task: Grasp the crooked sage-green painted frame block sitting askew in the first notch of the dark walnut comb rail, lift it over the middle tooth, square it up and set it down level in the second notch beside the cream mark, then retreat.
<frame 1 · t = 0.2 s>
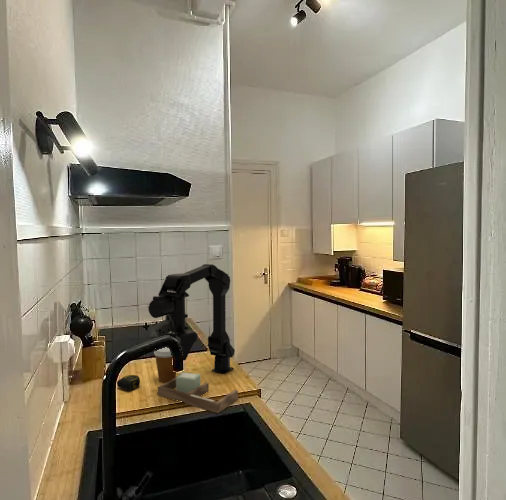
hand: (178, 356, 128), 13 cm above the table, fingers open, 9 cm apart
frame block: (188, 391, 132), on the table
disposable coffee cup: (167, 379, 142), on the table
walnut comb rail: (198, 396, 127), on the table
tape measure: (129, 389, 134), on the table
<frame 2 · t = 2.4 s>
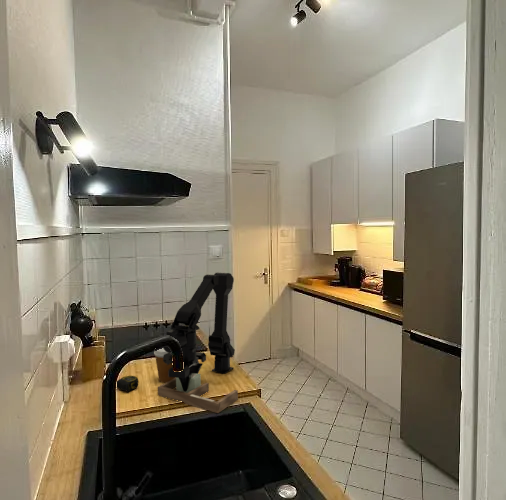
hand: (188, 387, 132), 1 cm above the table, fingers closed on frame block, 5 cm apart
frame block: (188, 390, 132), on the table, touching gripper
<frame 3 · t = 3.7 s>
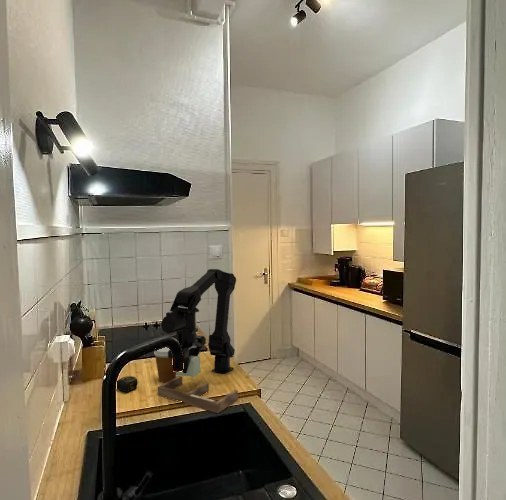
hand: (188, 370, 131), 7 cm above the table, fingers closed on frame block, 5 cm apart
frame block: (188, 373, 131), point 6 cm above the table, touching gripper
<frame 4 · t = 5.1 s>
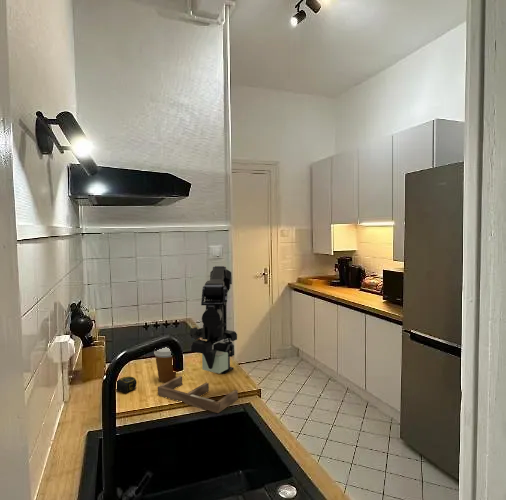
hand: (215, 366, 125), 11 cm above the table, fingers closed on frame block, 5 cm apart
frame block: (215, 369, 125), point 10 cm above the table, touching gripper
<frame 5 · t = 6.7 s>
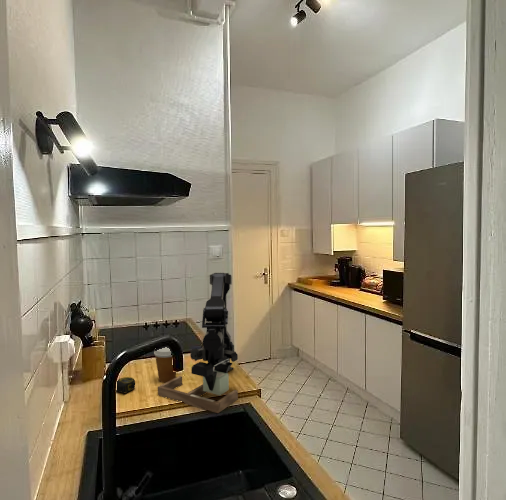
hand: (215, 387, 126), 4 cm above the table, fingers closed on frame block, 5 cm apart
frame block: (215, 390, 126), point 3 cm above the table, touching gripper
when the fingers open (2 cm above the table, at t = 7.9 s): frame block drops 1 cm, on the table.
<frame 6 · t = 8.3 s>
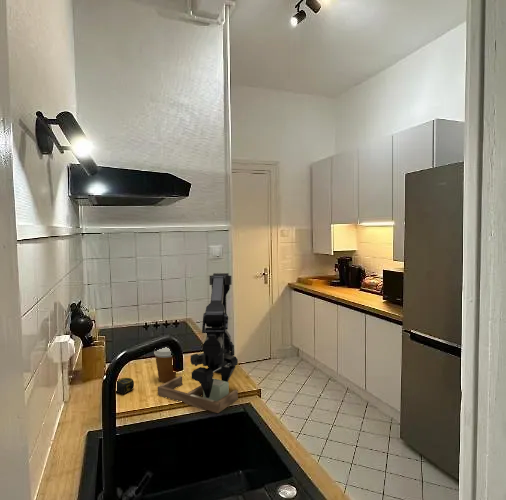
hand: (215, 392, 126), 2 cm above the table, fingers open, 9 cm apart
frame block: (216, 398, 126), on the table
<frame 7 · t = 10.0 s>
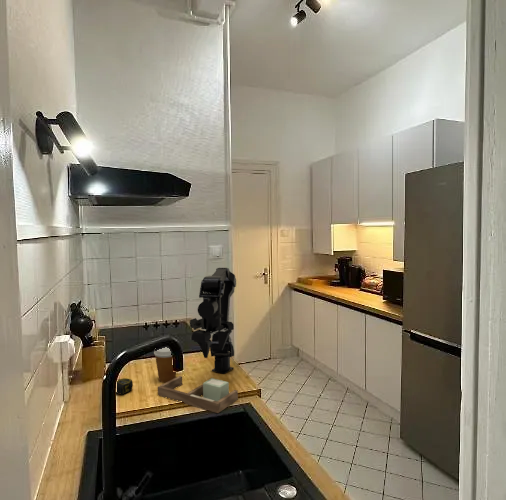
hand: (213, 354, 135), 12 cm above the table, fingers open, 9 cm apart
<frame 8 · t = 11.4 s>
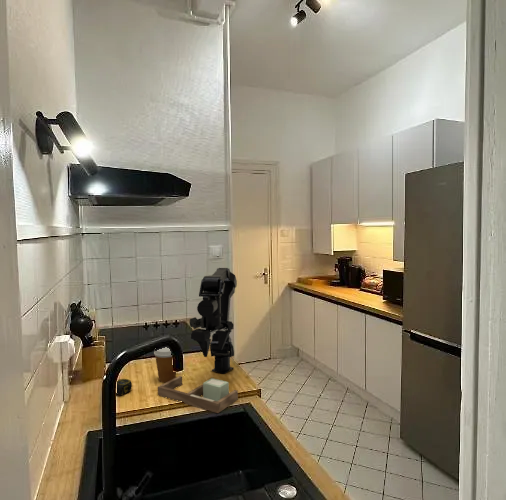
hand: (213, 353, 135), 12 cm above the table, fingers open, 9 cm apart
at the end: frame block inside the target area on the walnut comb rail (0.8 cm from its centre), point 0.0 cm above the walnut comb rail's base; frame block tilted 0°; the gripper is holding nothing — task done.
